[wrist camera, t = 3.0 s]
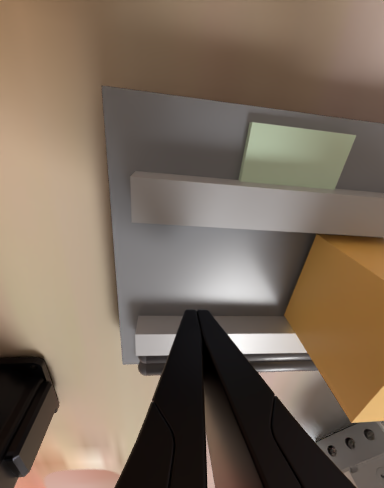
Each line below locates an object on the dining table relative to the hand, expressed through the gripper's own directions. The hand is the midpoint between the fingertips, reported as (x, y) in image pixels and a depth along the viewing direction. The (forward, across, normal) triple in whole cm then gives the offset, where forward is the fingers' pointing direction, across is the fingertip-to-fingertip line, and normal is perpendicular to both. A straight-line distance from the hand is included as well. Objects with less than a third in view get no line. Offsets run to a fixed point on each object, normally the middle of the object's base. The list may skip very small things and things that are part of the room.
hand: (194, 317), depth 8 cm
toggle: (+2, -8, 0) cm, 8 cm away
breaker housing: (+5, -8, 0) cm, 9 cm away
